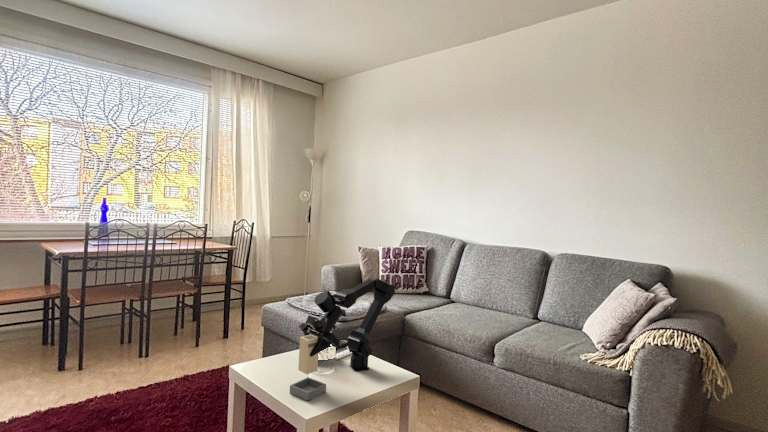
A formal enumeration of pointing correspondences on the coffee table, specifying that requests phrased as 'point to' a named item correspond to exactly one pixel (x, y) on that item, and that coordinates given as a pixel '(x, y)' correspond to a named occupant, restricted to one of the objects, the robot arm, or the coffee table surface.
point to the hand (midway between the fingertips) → (305, 353)
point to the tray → (307, 389)
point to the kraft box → (307, 354)
